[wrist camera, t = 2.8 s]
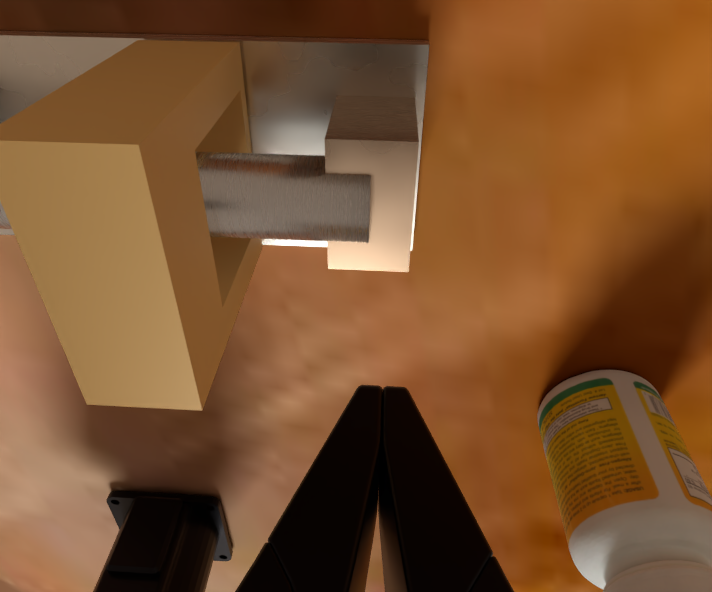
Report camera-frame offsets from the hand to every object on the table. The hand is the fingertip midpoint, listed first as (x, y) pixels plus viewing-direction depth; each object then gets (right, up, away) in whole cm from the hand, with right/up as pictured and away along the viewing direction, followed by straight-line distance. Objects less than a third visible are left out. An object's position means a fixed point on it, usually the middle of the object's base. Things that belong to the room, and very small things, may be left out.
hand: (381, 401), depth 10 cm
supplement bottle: (+11, -3, +16) cm, 19 cm away
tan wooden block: (-5, +7, +9) cm, 13 cm away
